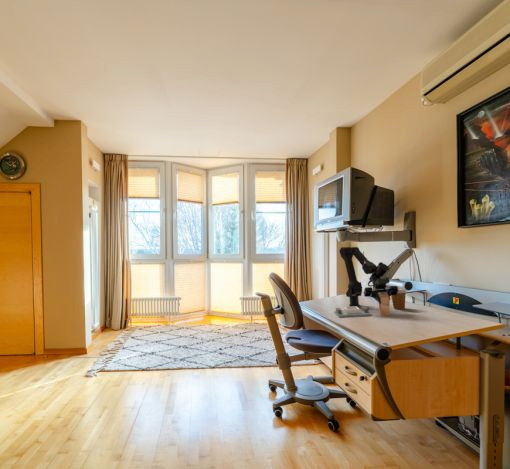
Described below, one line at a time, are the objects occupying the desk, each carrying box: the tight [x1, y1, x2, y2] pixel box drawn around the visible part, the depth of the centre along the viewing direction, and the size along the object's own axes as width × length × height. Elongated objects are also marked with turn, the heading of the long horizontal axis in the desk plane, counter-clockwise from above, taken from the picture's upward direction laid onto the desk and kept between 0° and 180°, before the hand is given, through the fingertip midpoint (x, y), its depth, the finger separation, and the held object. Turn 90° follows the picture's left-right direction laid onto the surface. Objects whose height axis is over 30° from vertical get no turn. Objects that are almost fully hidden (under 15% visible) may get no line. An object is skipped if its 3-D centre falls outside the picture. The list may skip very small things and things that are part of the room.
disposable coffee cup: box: [390, 287, 407, 310], centre depth 216 cm, size 10×10×12 cm
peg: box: [378, 293, 391, 316], centre depth 202 cm, size 4×4×11 cm
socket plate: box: [334, 306, 372, 318], centre depth 207 cm, size 14×18×4 cm
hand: (384, 303), depth 201 cm, fingers closed on peg, 4 cm apart
